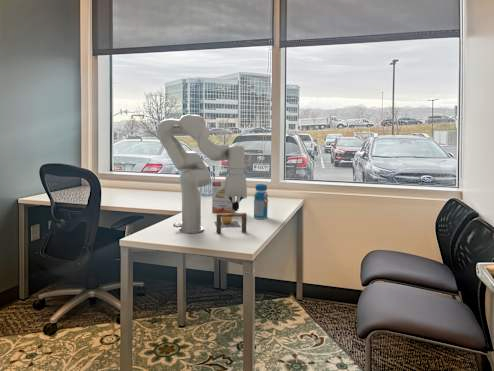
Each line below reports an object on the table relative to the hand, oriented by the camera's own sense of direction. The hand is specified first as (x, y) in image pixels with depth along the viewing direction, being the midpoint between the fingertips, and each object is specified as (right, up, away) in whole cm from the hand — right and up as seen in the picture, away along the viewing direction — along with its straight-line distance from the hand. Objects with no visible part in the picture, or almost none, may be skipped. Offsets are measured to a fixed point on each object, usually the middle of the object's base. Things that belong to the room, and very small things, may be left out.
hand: (235, 210), depth 183 cm
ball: (-6, -7, +33) cm, 34 cm away
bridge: (-3, -12, +15) cm, 19 cm away
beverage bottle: (+14, -8, +49) cm, 51 cm away
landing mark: (-6, -10, +31) cm, 33 cm away
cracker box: (-9, -5, +63) cm, 64 cm away
